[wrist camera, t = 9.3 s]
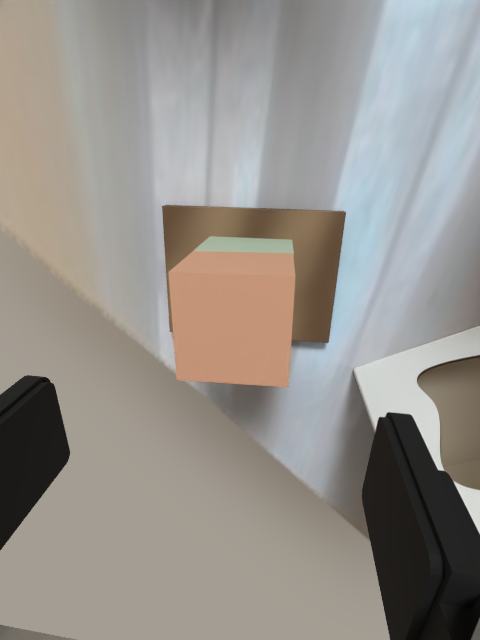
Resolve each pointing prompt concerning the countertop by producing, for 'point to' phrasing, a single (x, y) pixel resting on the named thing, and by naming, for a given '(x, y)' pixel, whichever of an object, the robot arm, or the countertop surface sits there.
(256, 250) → the sage block
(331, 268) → the walnut board
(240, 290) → the terracotta block
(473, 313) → the countertop surface
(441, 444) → the gable box
